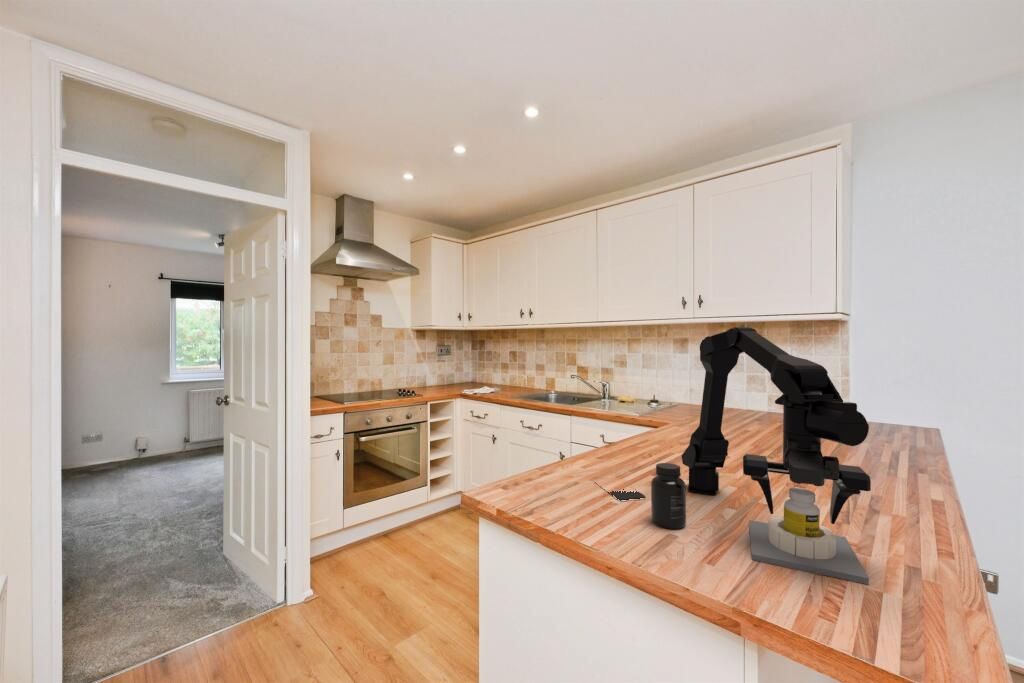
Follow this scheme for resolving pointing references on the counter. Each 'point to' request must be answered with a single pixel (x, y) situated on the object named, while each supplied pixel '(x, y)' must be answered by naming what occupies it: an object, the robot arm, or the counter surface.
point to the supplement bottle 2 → (801, 513)
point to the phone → (627, 495)
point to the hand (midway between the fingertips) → (801, 518)
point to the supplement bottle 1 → (668, 497)
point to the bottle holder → (805, 551)
